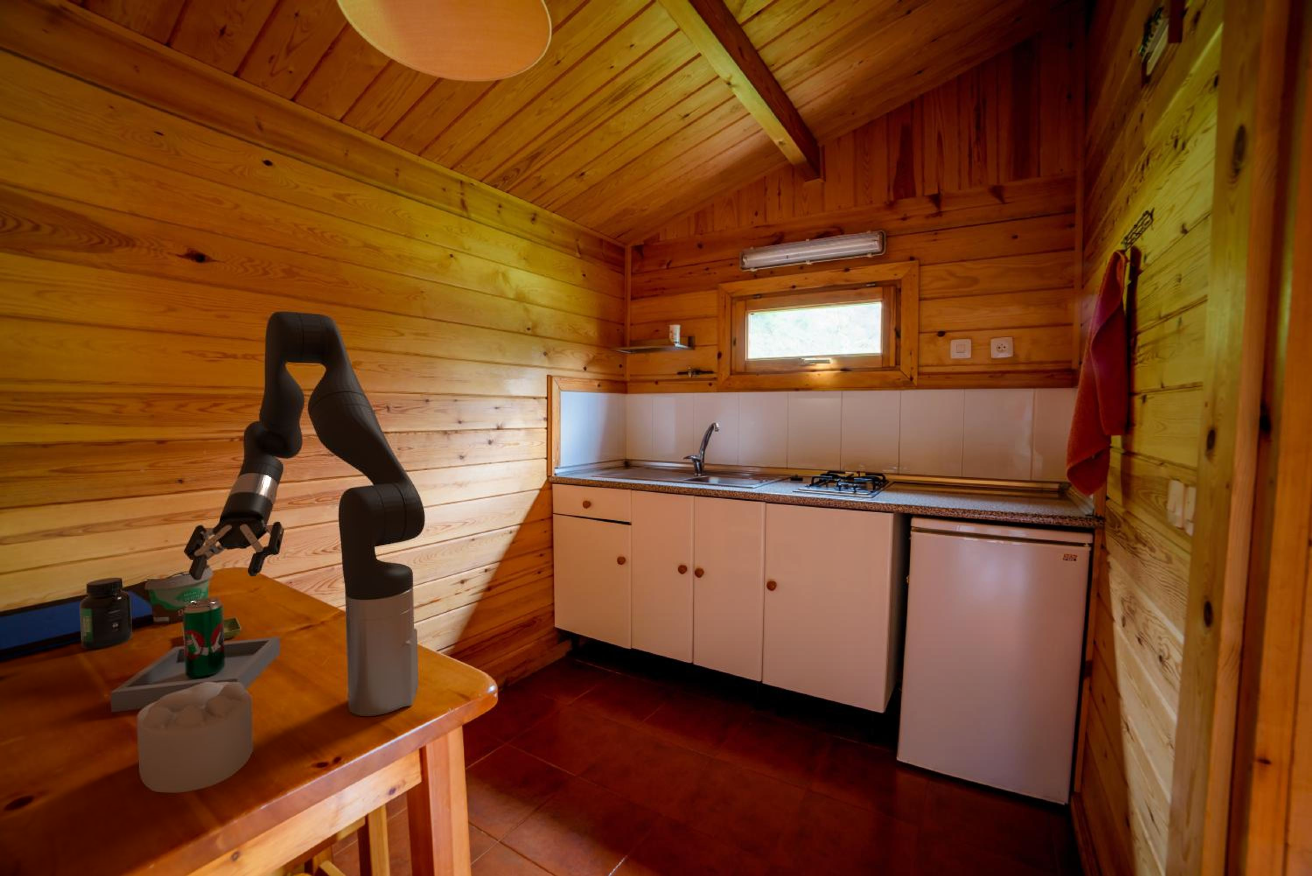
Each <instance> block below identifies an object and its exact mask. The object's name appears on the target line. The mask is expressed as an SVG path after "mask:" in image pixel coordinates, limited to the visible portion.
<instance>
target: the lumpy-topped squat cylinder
mask: <svg viewBox="0 0 1312 876" xmlns="http://www.w3.org/2000/svg"><path fill="white" fill-rule="evenodd" d="M252 707H253V706H252V696H251V695H250V694H249V692H248V691H247V690H246V689H245V688H244V686H243V685H242V684H241V683H239V682H219V683H214V682H204V683H201V684H198V685H195V686H193V687H190V688H188V689H185V690H180V691H177V692H174V693H170V694H167V695H165V696H163V697H162V698H160V699H159V700H158V701H156V702H154V703H151V704H149V705H148V706H146V707H144V708H143V709H140V711H139V712H138V713H137V715H136V730H137V750H138V751H137V752H138V769H139V771H138V772H139V776H140V779H141V781H142V782H143V784H144V786H145V787H147V788H148V789H149V790H151V791H153V792H159V793H184V792H190V791H191V792H192V791H197V790H202V789H204V788H208V787H211V786H214V785H217V784H219V783H221V782H223V781H224V780H227V779H229V778H230V777H232V776H234V774H236V773H237V772H238V771H240V770H241V768H243V767H244V765H246V763H248V761H249V759H250V757H251V756H252V753H253V750H254V736H253V733H254V732H253V731H254V730H253V708H252Z"/></svg>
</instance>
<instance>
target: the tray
mask: <svg viewBox="0 0 1312 876" xmlns="http://www.w3.org/2000/svg"><path fill="white" fill-rule="evenodd" d="M224 652H225V666H224V668H223V669H222V670H221V671H220V672H218V673H216V674H214V675H212V676H209V677H205V678H199V679H192V678H189V677H188V676H186V674H185V654H184V645H181V646H180V645H179V646H175V647H172V649H170V650H169V651H167V652H166V653H165V654H163V655H162V656H160V657H159V658H157V659H156V660H154V661H153V662H152V663H150V664H149V665H147V666H146V667H144V669H142V670H140V671H139V672H138V673H136V674H135V675H133V676H132V677H130V678H129V679H128V680H126V681H125V682H123V683H122V684H121V685H119V686H118V687H116V688H114V689H113V690H112V691H110V708H111V713H117V712H126V711H133V710H142V709H143V708H144V707H146V706H148V705H149V704H151V703H154V702H156V701H158V700H159V699H160V698H162V697H163V696H165V695H167V694H170V693H174V692H177V691H180V690H185V689H188V688H190V687H193V686H195V685H198V684H201V683H204V682H214V683H219V682H239V683H241V684H242V685H243V686H244V688H245V690H246V689H248V687H249V686H250V685H251V684H252V683H253V682H254V681H255V680H256V679H257V678H258V677H259V676H260V675H261V674H262V673H263V671H265V669H267V667H269V666H270V664H271V663H272V662H273V661H274V660H275V659H276V658H277V657H278V656H279V655H280V653H281V638H280V636H274V637H264V638H263V637H262V638H254V639H253V638H252V639H245V640H243V639H242V640H233V641H224Z"/></svg>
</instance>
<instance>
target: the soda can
mask: <svg viewBox="0 0 1312 876" xmlns="http://www.w3.org/2000/svg"><path fill="white" fill-rule="evenodd" d="M220 599H221V598H219V597H208V598H203V599H198V600H194V601H191V602H189V603H187V604H186V605H185V606H186V608H185V609H184V611H183V622H182V625H183V627H182V628H183V630H184V641H183V646H184V654H185V674H186V676H188V677H189V678H192V679H199V678H205V677H209V676H212V675H214V674H216V673H218V672H220V671H221V670H222V669H223V668H224V666H225V652H224V642H225V639H224V626H223V620H224V608H223V607H224V606H223V603H222V602H221V601H220Z"/></svg>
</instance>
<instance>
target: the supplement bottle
mask: <svg viewBox="0 0 1312 876" xmlns="http://www.w3.org/2000/svg"><path fill="white" fill-rule="evenodd" d="M85 587H86V591H85V592H86V593H85V594H87V595H88V596H86V597H85V598H83V599H82V600H81V601H80V603H79V621H80V622H79V623H80V639H81V640H80V641H81V647H82V648H83V649H85V650H101V649H106V648H110V647H114V646H118V645H121V644H124V643H126V642H128V641H129V640H130V639H131V638H132V636H133V622H132V621H133V620H132V605H131V604H132V603H131V602H132V601H131V595H130V593H128V591H125V590H122V589H123V588H124V585H123V578H122V577H109V578H108V577H106V578H100V579H96V580H92V581H90V582H88V583H86V585H85Z"/></svg>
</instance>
